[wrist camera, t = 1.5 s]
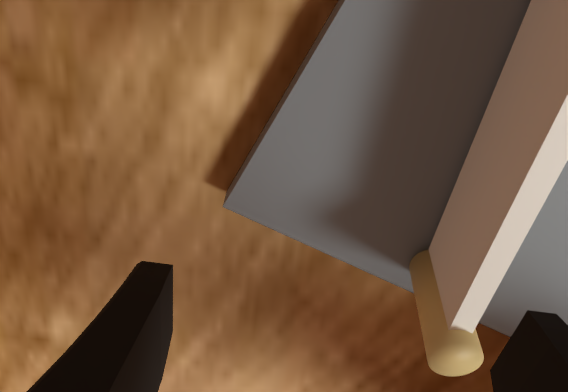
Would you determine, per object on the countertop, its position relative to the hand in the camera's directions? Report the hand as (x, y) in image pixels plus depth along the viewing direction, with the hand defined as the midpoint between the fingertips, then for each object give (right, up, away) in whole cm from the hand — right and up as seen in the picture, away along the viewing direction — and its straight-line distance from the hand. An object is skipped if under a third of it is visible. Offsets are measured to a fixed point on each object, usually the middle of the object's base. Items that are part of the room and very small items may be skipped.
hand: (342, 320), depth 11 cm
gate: (+6, +4, +7) cm, 10 cm away
